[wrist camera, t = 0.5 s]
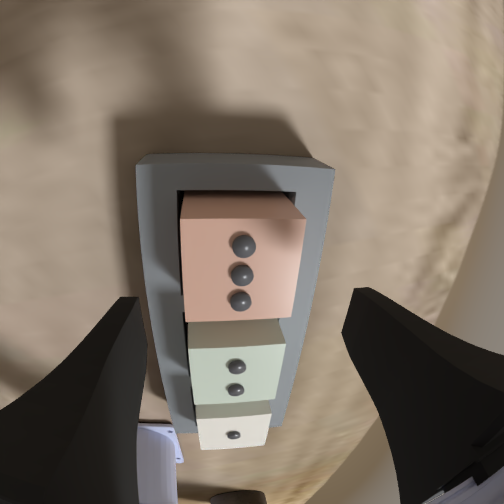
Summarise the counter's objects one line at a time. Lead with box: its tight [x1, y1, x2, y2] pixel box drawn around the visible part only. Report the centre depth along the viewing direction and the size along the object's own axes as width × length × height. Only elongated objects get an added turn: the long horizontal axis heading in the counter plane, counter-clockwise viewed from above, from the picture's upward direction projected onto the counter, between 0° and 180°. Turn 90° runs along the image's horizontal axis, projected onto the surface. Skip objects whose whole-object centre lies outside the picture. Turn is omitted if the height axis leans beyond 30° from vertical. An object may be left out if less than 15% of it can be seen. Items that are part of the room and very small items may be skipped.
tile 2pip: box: [188, 318, 286, 405], centre depth 17 cm, size 5×5×4 cm
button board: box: [136, 153, 335, 433], centre depth 19 cm, size 21×9×3 cm, turn 176°
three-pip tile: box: [180, 190, 306, 322], centre depth 14 cm, size 5×5×4 cm
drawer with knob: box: [196, 400, 272, 450], centre depth 20 cm, size 5×5×4 cm
